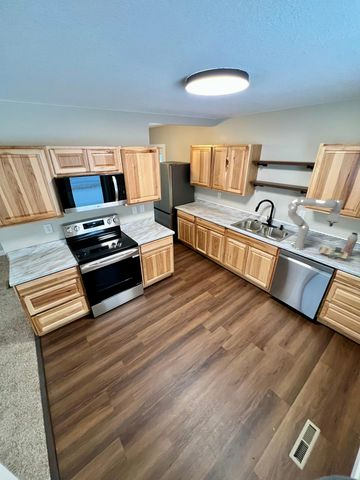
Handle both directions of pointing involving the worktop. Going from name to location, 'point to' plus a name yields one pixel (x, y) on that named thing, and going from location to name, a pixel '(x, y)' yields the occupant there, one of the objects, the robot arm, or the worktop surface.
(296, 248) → the robot arm
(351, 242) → the thermos bottle
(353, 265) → the worktop surface
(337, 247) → the rider
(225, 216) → the worktop surface
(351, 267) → the worktop surface
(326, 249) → the beam
